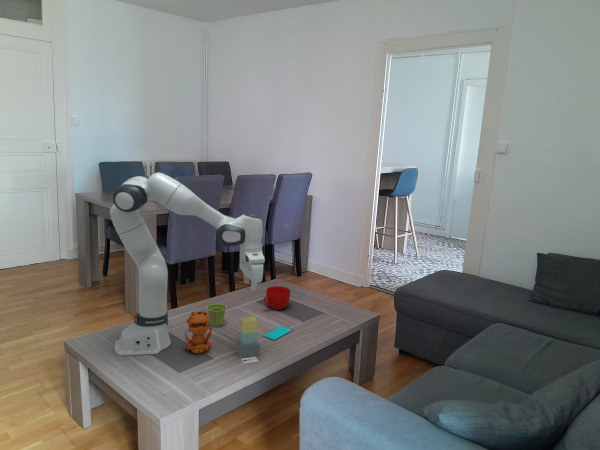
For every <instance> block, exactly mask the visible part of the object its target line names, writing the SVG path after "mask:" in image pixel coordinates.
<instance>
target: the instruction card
mask: <svg viewBox="0 0 600 450" xmlns="http://www.w3.org/2000/svg"><path fill="white" fill-rule="evenodd" d="M241 361H242V363H243V364H250V363H256V362H259V360H258V358H257V356H253V357H247V358H241Z"/></svg>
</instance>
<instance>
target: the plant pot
mask: <svg viewBox="0 0 600 450" xmlns="http://www.w3.org/2000/svg"><path fill="white" fill-rule="evenodd" d="M226 309H228V308H227V305H225V304H222V303H212V304H209V305H207V306H206V310H207V313H208V317H210V318H209V324H210V326H212V327H213V326H214V327H215V328H216V327H220V326H222V325H224V319H225V314H226Z"/></svg>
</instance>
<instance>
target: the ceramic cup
mask: <svg viewBox="0 0 600 450" xmlns="http://www.w3.org/2000/svg"><path fill="white" fill-rule="evenodd" d="M290 297H291V289H290V288H288V287H285V286H280V285H279V286H278V285H276V286H269V287H267V288H266V289H265V296H264V297H263V302H264V304H265V305H267V306H268V305H269V307H270V308H271V310H275V311H282V310H284V309H285V307H286V306H287V305H288V303H289V302H290Z"/></svg>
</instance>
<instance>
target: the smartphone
mask: <svg viewBox="0 0 600 450" xmlns="http://www.w3.org/2000/svg"><path fill="white" fill-rule="evenodd" d="M292 332H294V329H293V328H291V327H289V326H284V325H280V326H278V327H276V328H274V329H272V330H270V331H268V332H267V333H265V334H263V335H262V338H265V339H268V340H270V341H272V342H274V341H275V342H276V341H277V340H279V339H281V338H283V337H284V336H287V335H288V334H290V333H292Z"/></svg>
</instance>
